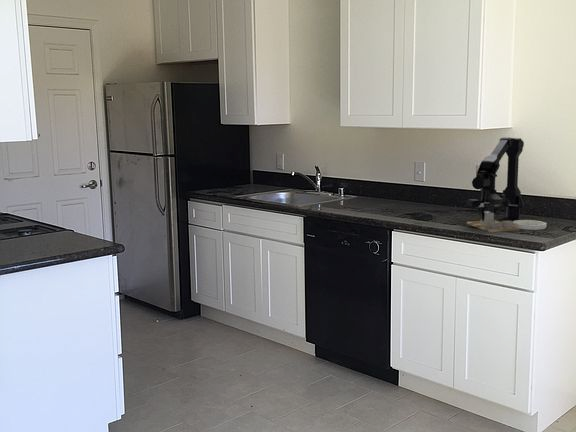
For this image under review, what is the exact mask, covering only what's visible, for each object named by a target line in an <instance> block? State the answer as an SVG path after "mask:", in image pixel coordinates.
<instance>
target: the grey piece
mask: <svg viewBox="0 0 576 432" xmlns="http://www.w3.org/2000/svg"><path fill="white" fill-rule="evenodd" d="M500 222H501V221H499V222H494V221H491V222H487V228H488V229H500Z"/></svg>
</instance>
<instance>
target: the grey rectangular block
mask: <svg viewBox="0 0 576 432" xmlns="http://www.w3.org/2000/svg"><path fill="white" fill-rule="evenodd" d="M494 217H495V215H494V213H493V212H490V210H489V211H484V221H482V220H481V219H480V221H481V225H483V226H487V222H491V221H494Z"/></svg>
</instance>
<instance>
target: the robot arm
mask: <svg viewBox="0 0 576 432" xmlns="http://www.w3.org/2000/svg"><path fill="white" fill-rule="evenodd" d="M524 147H525V143H524V140H523V139H522V138H521V137H520V138H519V137H508V136H507V137H506V136H503V137H500V138H499V141H498V143H497V144H496V146H495V148H493V150H492V152H491V153H490V155H488V156H485V157H484V159H482V160H481V162H480V164H479V167H478V169H477V171H476V176H475V177H473V179H472V181H471V185H472V187H473V188H474V189H475V190H480V192H481V197H480V198H479V199H476V198H473V199H471V198H470V199H469V198H468V199H467V201H466V206H468V207H472V208H475V209H476V211H477V212H478V214H479V217H480V221H481V220H482V221H484V212H485V210H486V206H485V205H489V212H493V213H494V216H495V215H496V213H497V211H498V210H499V209H500V208H502V207H506V211H505V212H506V213H505V214H506V216H505V218H506V219H507V220H508V219H509V220H513V221H515V220H523V219H522V218H520V209H524V205H525V202H524V200H523V198H522V192H521V190H520V188H519V186H518V185H519V184H518V183H519V182H518V181H519V161H520V160H519V157H520V155H521V154H522V152H523V151H524ZM505 154H506V156H507V172H506V174H507V177H506V178H507V179H506V187H505V188H504V189H503V190H502V193H500V194H497V189H496V178H497V177H498V175H497V172H498V170H499V168H500V166H501V165H500V161H501V160H502V158H503V157H504V156H505Z"/></svg>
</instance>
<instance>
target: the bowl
mask: <svg viewBox="0 0 576 432" xmlns="http://www.w3.org/2000/svg"><path fill="white" fill-rule="evenodd" d="M512 222H513V226H515V227H518V228H520V230H525V231H526V230H528V231H529V230H530V231H534V230H535V231H538V230H545V229H546V228H547V225H548V224H547V222H544V221H541V220H534V219H532V220H531V219H522V220H513V221H512Z"/></svg>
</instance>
